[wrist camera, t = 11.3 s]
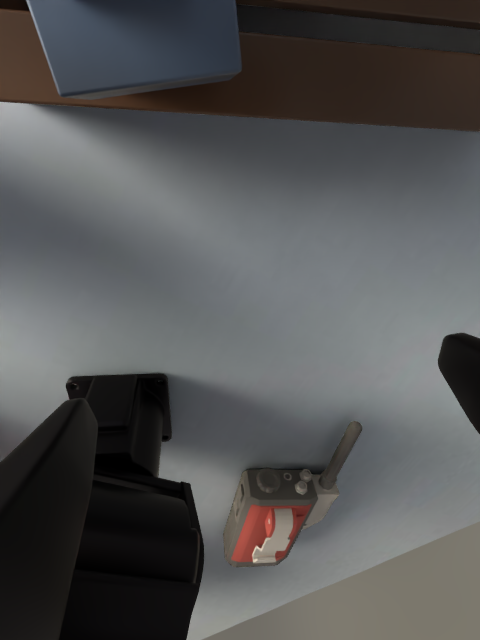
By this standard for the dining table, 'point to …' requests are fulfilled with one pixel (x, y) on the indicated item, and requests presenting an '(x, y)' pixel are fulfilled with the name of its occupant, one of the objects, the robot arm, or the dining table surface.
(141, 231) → the dining table surface
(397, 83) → the shoe rack
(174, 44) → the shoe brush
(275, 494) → the walkie-talkie
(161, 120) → the dining table surface
